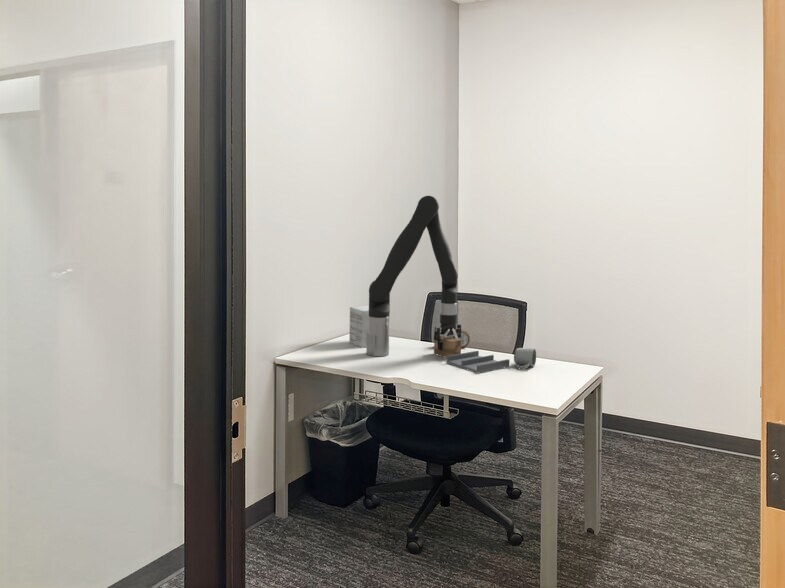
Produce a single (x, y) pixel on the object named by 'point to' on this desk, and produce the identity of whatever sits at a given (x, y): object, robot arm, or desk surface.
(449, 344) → the wooden toy brick
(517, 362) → the ceramic mug
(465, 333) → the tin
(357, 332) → the supplement box
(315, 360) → the desk surface
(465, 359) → the rack
